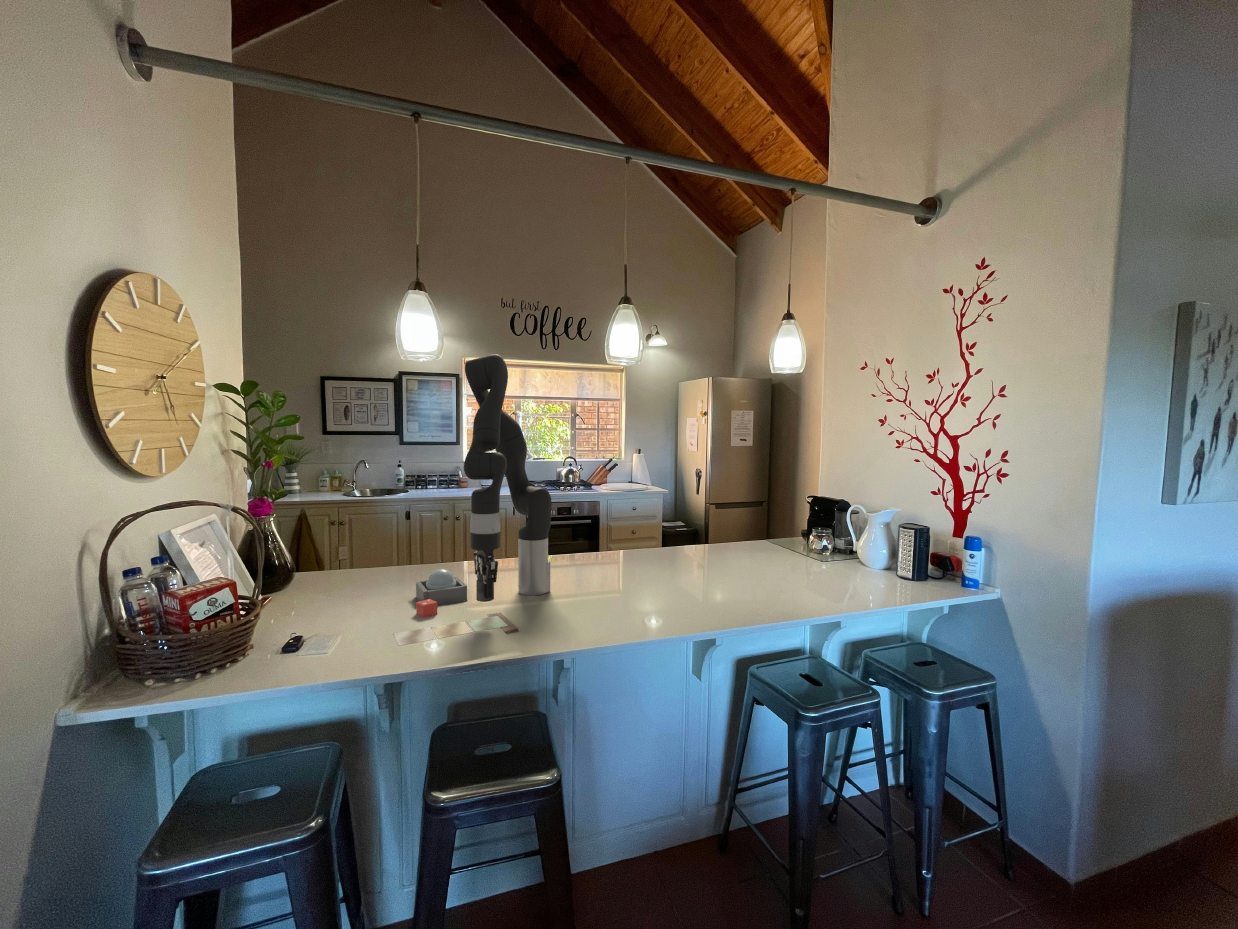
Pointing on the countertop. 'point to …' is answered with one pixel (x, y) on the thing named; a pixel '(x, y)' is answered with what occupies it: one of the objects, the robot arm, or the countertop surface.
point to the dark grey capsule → (482, 590)
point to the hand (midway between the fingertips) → (485, 595)
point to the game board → (456, 629)
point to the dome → (440, 580)
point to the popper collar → (442, 593)
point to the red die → (426, 608)
